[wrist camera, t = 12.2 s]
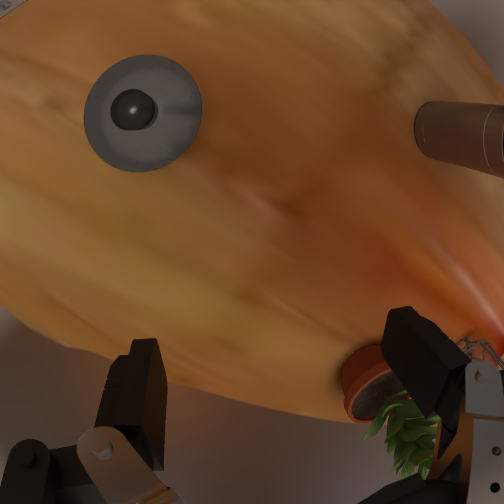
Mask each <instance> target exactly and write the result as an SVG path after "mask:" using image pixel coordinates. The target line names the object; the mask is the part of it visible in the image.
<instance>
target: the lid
mask: <svg viewBox="0 0 504 504" xmlns="http://www.w3.org/2000/svg"><path fill="white" fill-rule="evenodd" d="M201 115H202V102H201V96H200V92H199V89H198V87H197V85H196V82H195V81H194V79H193V78H192V76H191V75H190V74H189V73H188V71H187V70H186V69H185V68H183V67H182V66H181V65H180V64H178V63H176V62H175V61H173V60H171V59H168V58H166V57H162V56H157V55H138V56H133V57H129V58H127V59H124V60H122V61H120V62H118V63H116V64H114V65H113V66H111V67H110V68H109V69H107V70H106V71H105V72H104V73H103V74H102V75H101V76H100V77H99V78H98V80H97V81H96V82H95V84H94V85H93V87H92V89H91V91H90V93H89V95H88V98H87V100H86V104H85V109H84V127H85V132H86V136H87V139H88V141H89V143H90V145H91V147H92V148H93V150H94V151H95V152H96V154H97V155H98V156H99V157H100V158H101V159H102V160H104V161H105V162H106V163H108V164H109V165H111V166H113V167H115V168H117V169H121V170H124V171H129V172H147V171H152V170H156V169H159V168H161V167H164V166H166V165H168V164H169V163H171V162H172V161H174V160H176V159H177V158H178V157H179V156H180V155H181V154H182V153H183V152H184V151H185V150H186V149H187V148H188V147H189V145H190V144H191V142H192V141H193V139H194V137H195V135H196V133H197V131H198V128H199V125H200V121H201Z"/></svg>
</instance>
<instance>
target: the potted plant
mask: <svg viewBox="0 0 504 504" xmlns="http://www.w3.org/2000/svg"><path fill="white" fill-rule="evenodd" d="M341 377H342V383H343V389H344V395H345V399H344V408H345V410H346V412H347V414H348V416H349V417H350V419H351V420H352V421H355V422H357V423H370V422H372V424H371V426H370V427H369V429H368V430H367V432H366V435H365V438H364V440H365V439H366V438H370V437H373V436H374V435H375V434H376V433H377V432H378V431H379V429H380V428H381V427H382V425H383V424H384V422H385V420H386V418H387V416H389V418H388V423H387V438H386V439H385V441H384V444H386V443H387V442H388V445H387V452H388V453H389V456H390V455H391V453H392V452H393V451H395V452H394V466H393V467H392V469H391V470H390V471H392V472H393V471H395V470H396V475H397V472H398V470H399V469H400V468H401V467H402V466H403V464H404V466H403V469H402V472H401V475H400V478H399V480H401V479H404V478H406V477H409V476H411V474H412V473H413V471H414V468H415V466H418V465H419V468H418V472H419V473H420V475H421V477H422V478H423V480H425V476H426V470H427V469H429V470H430V468H431V464H432V459H433V453H434V447H435V444H434V443H433V441H432V439H435V438H436V433H437V428H436V427H430V425H433V424H436V423H438V422H439V421H440V419H441V418H440V417H439V415H437V416H435V417H433V418H430V419H428V420H426V419H425V417H423V414H422V413H421V411H420V410H419V408H418V407H417V406H416V404H415V403H414V401H413V400H412V399H409V398H410V395H409V394H408V392H407V391H406V390H405V388H404V387H403V385H402V384H401V382H400V381H399V380H398V378H397V377H396V375H395V374H394V372H393V371H392V370H391V368H390V367H389V365H388V364H387V363H386V361H385V360H384V358H383V355H382V351H381V346H380V345H370V346H366V347H364V348H361V349H360V350H358V351H356V352H355V353H353V354H352V355H351V356H350V357H349V358H348V359H347V361H346V362H345V364H344V365H343V368H342V371H341ZM419 417H422V418H419ZM410 418H415V419H410ZM407 419H408V420H407ZM364 440H363V441H364ZM404 462H405V463H404Z"/></svg>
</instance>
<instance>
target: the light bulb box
mask: <svg viewBox="0 0 504 504" xmlns="http://www.w3.org/2000/svg"><path fill="white" fill-rule="evenodd" d="M25 1H26V0H0V18H2V17H3V16H5V15H6V14H7V13H9V12H10V11H12V10H13V9H14V8H16V7H17V6H19V5H20V4H22V3H23V2H25Z"/></svg>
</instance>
